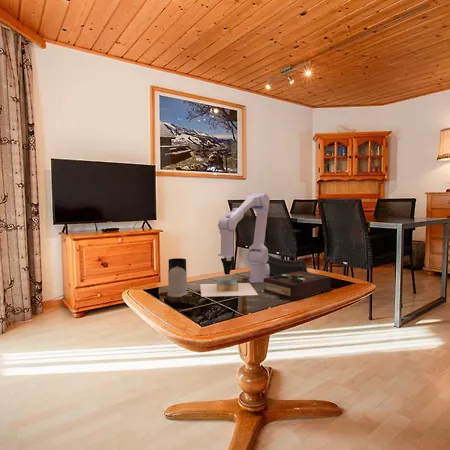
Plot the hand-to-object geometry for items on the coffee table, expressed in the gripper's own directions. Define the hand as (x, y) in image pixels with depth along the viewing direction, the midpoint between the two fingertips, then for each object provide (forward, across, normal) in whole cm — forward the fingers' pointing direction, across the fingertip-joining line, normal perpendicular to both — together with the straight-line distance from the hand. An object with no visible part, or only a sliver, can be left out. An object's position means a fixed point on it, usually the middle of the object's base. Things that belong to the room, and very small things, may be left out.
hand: (227, 274), depth 150 cm
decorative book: (+8, +7, +31) cm, 32 cm away
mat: (+7, +1, 0) cm, 7 cm away
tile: (+5, -3, 0) cm, 6 cm away
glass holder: (+7, +3, -22) cm, 23 cm away
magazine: (+7, -26, +33) cm, 43 cm away
